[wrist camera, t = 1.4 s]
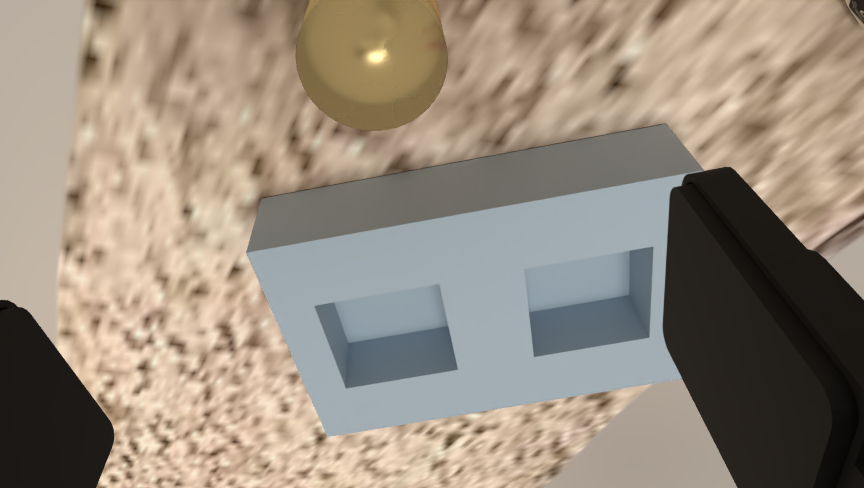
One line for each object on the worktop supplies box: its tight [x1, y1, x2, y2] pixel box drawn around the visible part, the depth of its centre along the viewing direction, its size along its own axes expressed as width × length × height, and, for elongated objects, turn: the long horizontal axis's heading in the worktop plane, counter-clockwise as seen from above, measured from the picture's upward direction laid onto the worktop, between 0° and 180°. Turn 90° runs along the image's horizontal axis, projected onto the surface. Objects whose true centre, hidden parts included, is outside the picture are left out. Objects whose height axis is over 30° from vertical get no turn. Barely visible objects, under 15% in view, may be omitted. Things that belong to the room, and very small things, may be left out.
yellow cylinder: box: [296, 0, 448, 131], centre depth 20 cm, size 4×4×8 cm
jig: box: [246, 124, 704, 437], centre depth 30 cm, size 12×18×4 cm, turn 100°
